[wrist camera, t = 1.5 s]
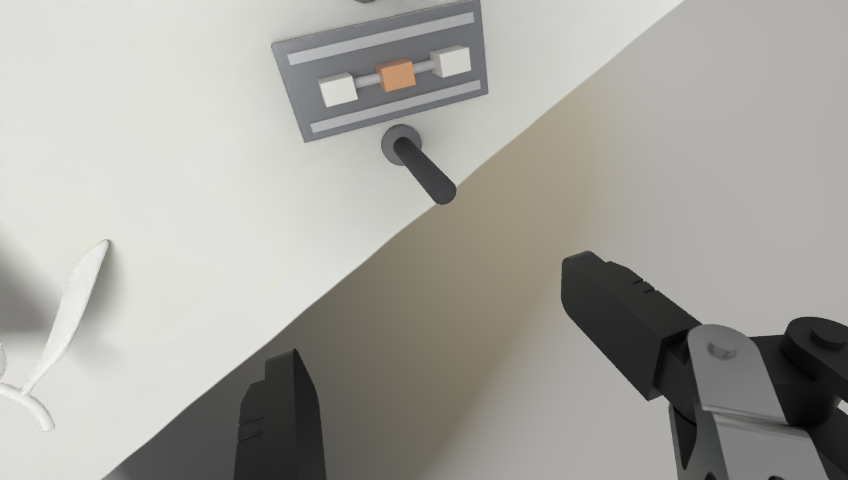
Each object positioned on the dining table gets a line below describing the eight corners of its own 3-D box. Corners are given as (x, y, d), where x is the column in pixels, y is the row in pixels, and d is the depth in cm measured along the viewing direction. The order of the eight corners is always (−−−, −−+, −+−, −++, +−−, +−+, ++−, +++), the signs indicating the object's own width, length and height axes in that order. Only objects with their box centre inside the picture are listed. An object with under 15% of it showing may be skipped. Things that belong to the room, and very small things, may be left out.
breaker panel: (466, -1, 37) (482, -2, 34) (476, 88, 42) (491, 94, 39) (271, 43, 34) (270, 46, 31) (303, 134, 39) (304, 144, 36)
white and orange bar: (456, 45, 36) (468, 47, 33) (459, 66, 37) (471, 70, 34) (317, 79, 34) (319, 84, 31) (323, 100, 35) (326, 107, 32)
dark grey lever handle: (383, 122, 40) (423, 165, 29) (421, 126, 42) (473, 168, 30) (379, 161, 42) (415, 215, 31) (415, 163, 43) (462, 216, 32)
